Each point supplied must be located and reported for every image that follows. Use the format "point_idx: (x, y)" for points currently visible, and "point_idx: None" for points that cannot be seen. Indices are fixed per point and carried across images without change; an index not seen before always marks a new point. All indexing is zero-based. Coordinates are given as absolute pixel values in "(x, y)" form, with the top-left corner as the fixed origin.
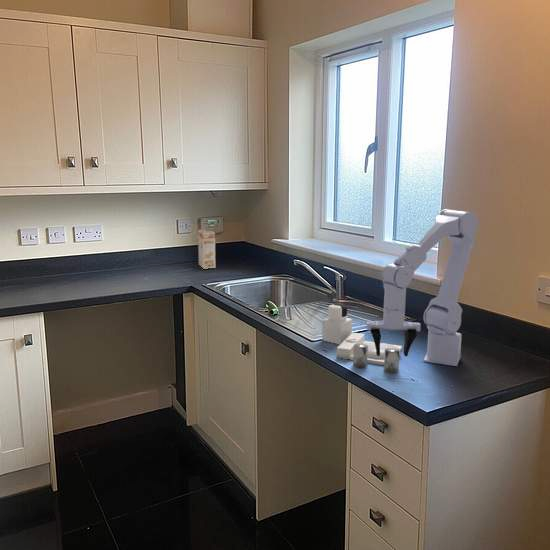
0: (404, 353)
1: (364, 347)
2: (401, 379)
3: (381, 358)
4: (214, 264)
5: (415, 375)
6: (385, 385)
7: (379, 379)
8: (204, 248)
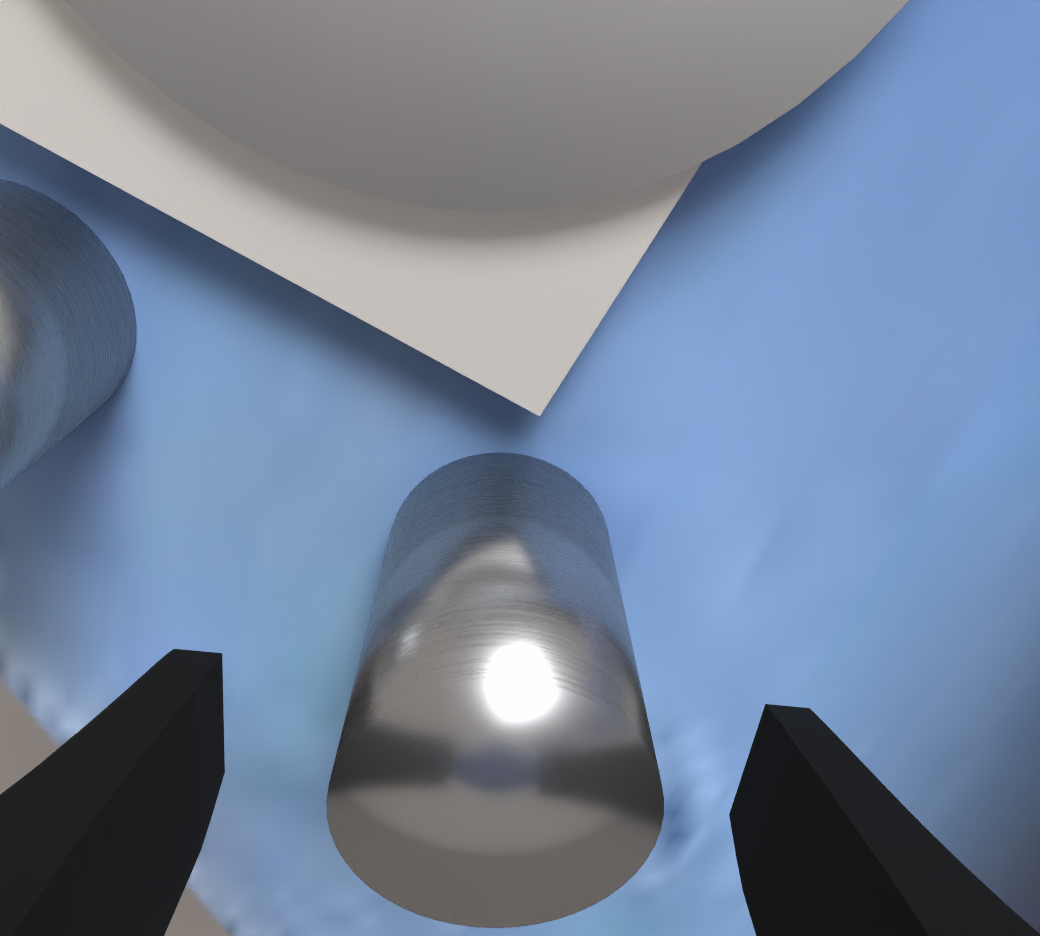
0: (753, 794)
1: None
2: None
3: (423, 203)
4: None
5: None
6: (302, 920)
7: (261, 792)
8: None
